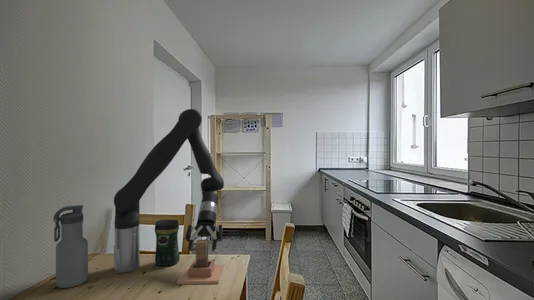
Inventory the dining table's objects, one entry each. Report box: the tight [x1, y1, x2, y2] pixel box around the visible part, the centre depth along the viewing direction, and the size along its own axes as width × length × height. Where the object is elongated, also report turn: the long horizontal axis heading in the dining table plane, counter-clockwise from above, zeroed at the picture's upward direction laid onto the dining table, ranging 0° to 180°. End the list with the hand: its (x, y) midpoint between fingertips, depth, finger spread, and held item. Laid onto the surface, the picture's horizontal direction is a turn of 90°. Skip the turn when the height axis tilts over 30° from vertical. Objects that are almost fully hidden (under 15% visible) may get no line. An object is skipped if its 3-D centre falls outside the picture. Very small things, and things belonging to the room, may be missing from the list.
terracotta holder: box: [176, 259, 225, 285], centre depth 110 cm, size 15×15×4 cm
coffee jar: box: [154, 219, 180, 266], centre depth 123 cm, size 10×8×19 cm
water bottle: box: [52, 204, 89, 289], centre depth 105 cm, size 10×10×28 cm
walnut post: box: [195, 238, 209, 268], centre depth 110 cm, size 4×4×12 cm
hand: (201, 250), depth 111 cm, fingers open, 8 cm apart
